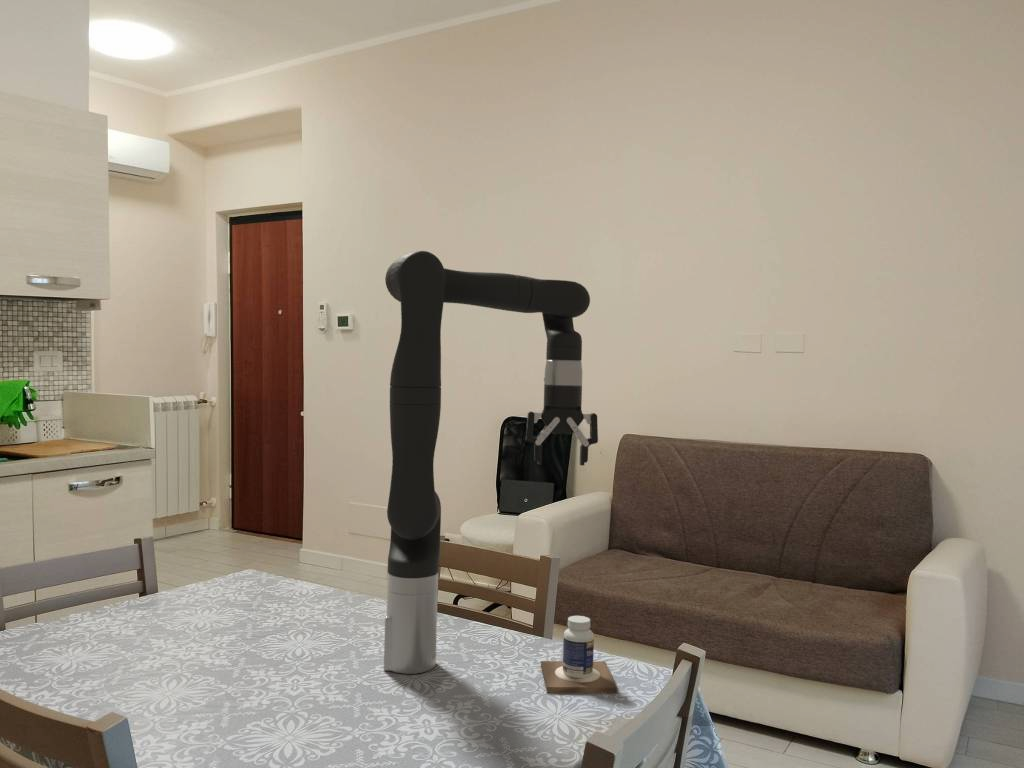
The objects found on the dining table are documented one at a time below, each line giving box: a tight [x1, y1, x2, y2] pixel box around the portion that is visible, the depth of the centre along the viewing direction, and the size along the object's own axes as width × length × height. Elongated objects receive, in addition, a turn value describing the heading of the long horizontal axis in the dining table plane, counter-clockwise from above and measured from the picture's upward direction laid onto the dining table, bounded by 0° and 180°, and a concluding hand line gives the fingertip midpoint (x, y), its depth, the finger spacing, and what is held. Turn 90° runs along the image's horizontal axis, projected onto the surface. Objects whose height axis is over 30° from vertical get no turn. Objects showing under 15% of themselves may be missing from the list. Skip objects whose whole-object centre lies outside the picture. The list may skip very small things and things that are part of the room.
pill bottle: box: [562, 615, 595, 678], centre depth 142 cm, size 5×5×10 cm
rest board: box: [540, 660, 618, 694], centre depth 142 cm, size 12×12×1 cm
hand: (560, 464), depth 159 cm, fingers open, 8 cm apart
